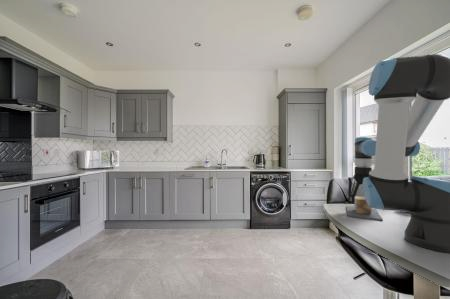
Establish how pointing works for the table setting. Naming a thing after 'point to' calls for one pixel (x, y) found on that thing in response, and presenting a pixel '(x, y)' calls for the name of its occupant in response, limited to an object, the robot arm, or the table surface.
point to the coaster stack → (362, 205)
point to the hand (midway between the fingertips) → (362, 210)
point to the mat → (353, 213)
